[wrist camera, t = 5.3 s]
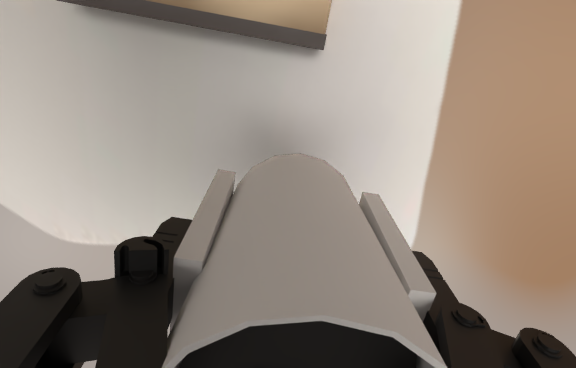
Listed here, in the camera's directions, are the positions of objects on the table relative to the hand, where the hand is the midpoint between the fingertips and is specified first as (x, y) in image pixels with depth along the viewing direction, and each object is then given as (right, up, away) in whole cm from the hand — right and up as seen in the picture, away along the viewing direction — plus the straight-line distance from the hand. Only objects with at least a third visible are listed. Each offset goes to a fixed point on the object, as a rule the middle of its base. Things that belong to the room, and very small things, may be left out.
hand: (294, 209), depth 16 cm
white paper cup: (0, 0, +1) cm, 1 cm away
